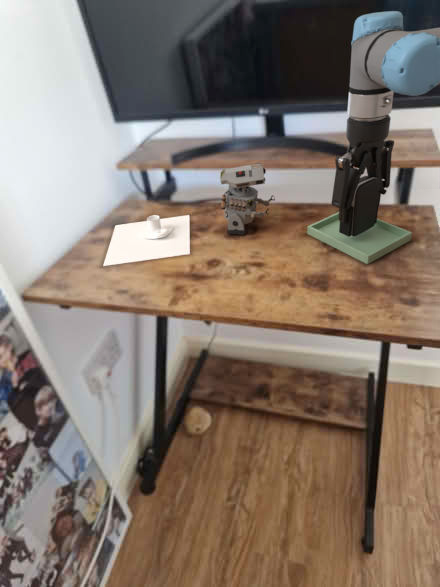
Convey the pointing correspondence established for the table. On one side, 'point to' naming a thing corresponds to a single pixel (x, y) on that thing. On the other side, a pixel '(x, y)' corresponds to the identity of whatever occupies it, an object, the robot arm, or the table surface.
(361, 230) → the battery charger
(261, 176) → the figurine
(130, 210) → the table surface
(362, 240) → the tray
